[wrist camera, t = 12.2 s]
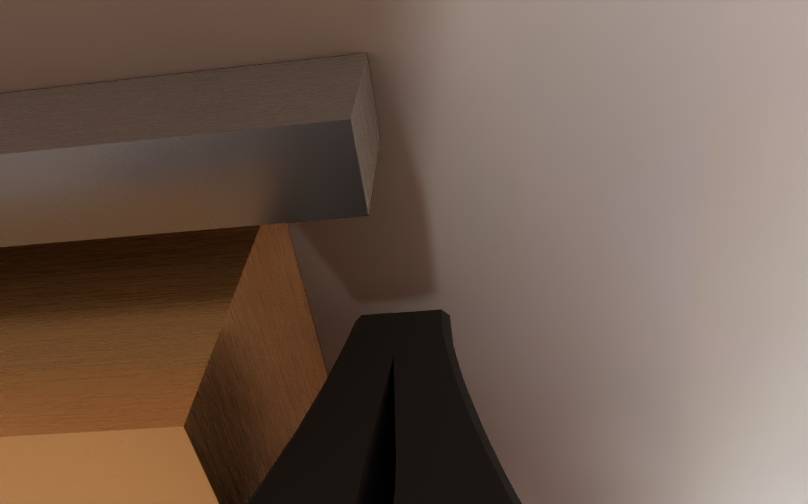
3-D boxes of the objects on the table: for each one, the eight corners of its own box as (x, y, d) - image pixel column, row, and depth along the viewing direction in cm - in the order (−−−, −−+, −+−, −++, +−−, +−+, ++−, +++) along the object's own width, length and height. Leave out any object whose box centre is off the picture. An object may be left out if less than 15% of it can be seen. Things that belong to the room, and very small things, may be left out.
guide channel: (366, 53, 9) (339, 164, 7) (435, 483, 14) (434, 637, 12) (-292, 125, 10) (-530, 246, 8) (-8, 502, 15) (-95, 648, 13)
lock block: (276, 184, 10) (183, 426, 6) (339, 418, 13) (299, 677, 9) (-102, 220, 11) (-380, 459, 7) (37, 435, 14) (-111, 684, 10)
